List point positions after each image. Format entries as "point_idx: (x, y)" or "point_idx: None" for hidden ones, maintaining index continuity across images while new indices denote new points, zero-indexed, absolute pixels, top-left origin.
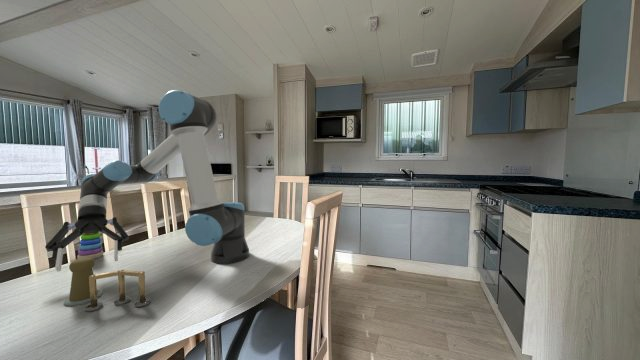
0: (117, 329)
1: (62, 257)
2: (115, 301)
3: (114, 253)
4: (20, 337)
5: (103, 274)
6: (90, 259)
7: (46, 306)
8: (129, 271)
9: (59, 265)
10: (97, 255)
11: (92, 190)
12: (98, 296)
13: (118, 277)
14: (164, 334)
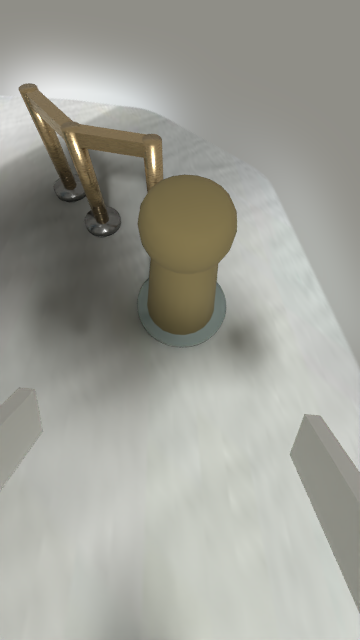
0: None
1: (344, 572)
2: (116, 220)
3: (11, 414)
4: (264, 207)
5: (121, 131)
6: (151, 188)
7: (261, 316)
8: (51, 109)
9: (309, 438)
10: None
11: None
12: (147, 281)
13: (87, 149)
14: (79, 101)
